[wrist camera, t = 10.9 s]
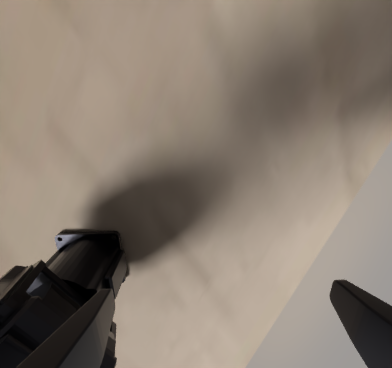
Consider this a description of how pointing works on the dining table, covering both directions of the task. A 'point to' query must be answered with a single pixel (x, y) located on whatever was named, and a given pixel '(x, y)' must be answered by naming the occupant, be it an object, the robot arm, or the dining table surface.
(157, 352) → the dining table surface
